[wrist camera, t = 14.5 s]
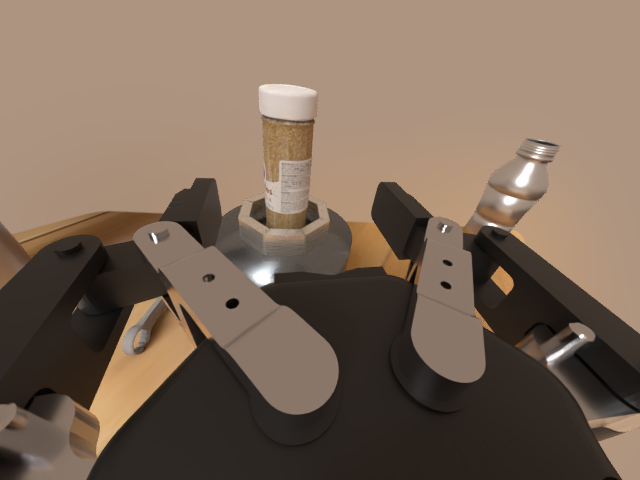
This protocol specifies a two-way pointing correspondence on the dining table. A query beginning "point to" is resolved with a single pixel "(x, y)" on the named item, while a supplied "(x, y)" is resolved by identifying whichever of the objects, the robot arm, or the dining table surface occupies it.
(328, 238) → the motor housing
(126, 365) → the dining table surface
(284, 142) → the spice jar
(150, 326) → the combination wrench
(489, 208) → the plastic bottle
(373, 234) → the dining table surface
